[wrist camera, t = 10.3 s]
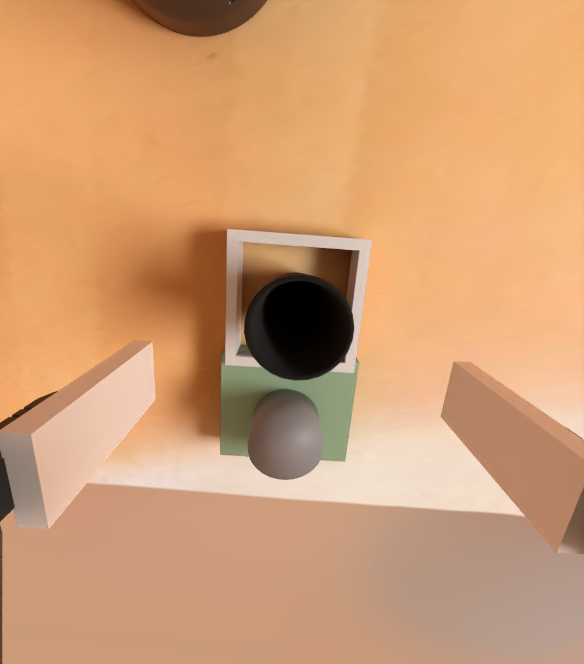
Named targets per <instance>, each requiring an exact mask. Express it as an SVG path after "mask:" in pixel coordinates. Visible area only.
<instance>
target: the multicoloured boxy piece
mask: <svg viewBox="0 0 584 664" xmlns="http://www.w3.org/2000/svg"><path fill="white" fill-rule="evenodd" d="M243 242H252V243H266V244H279V245H292V246H306V247H319V248H332V249H346V250H352V255H351V264H350V272H349V280H348V288H347V297H346V300H347V302H348V303H349V306H350V308H351V311H352V313H353V319H354V335H353V341H352V343H351V346H350V348H349V351H348V353H347V354H346V356H345V357H344V358H343V360H342V361H341V363H339V364H338V365H337V366H336V367H335V368H334V369H333V370H331V371H330V372H328V373H326V374H324V375H322V376H320V377H317V378H313V379H310V380H298V381H294V380H289V379H283V378H280V377H278V376H276V375H273V374H271V373H270V372H268V371H267V370H265V369H264V368H263V367H261V366H260V365H259V363H258V362H257V361H256V360H255V359H254V358H253V356H252V354H251V352H250V350H249V348H248V346H247V345H241V311H242V275H243ZM371 245H372V240H367V239H354V238H340V237H327V236H314V235H301V234H288V233H274V232H261V231H248V230H235V229H227V271H226V342H225V348H224V350H223V352H222V353H221V430H220V455H234V456H249V457H250V460H251V461H252V463H253V465H254V466H255V467H256V468H257V469H258V470H259V471H260V472H262V473H263V474H265V475H267V476H269V477H272V478H276V479H282V480H289V479H295V478H299V477H302V476H304V475H306V474H308V473H309V472H311V471H312V470H313V469H314V468H315V467H316V466H317V464H318V463H319V461H320V460H326V461H345V458H346V451H347V444H348V437H349V430H350V423H351V416H352V408H353V401H354V394H355V387H356V380H357V373H358V366H359V362H358V360H357V358H356V354H357V347H358V339H359V332H360V325H361V318H362V310H363V303H364V296H365V288H366V281H367V274H368V267H369V259H370V252H371Z"/></svg>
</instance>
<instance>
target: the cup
mask: <svg viewBox="0 0 584 664" xmlns="http://www.w3.org/2000/svg"><path fill="white" fill-rule="evenodd" d="M244 334H245V339H246V343H247V346H248V348H249V350H250V352H251V354H252V356H253V358H254V359H255V360H256V361H257V362H258V363H259V365H260V366H261V367H263V368H264V369H265V370H267V371H268V372H270V373H271V374H273V375H276V376H278V377H280V378H283V379H289V380H294V381H298V380H310V379H313V378H317V377H320V376H322V375H324V374H326V373H328V372H330V371H331V370H333V369H334V368H335V367H336V366H337V365H338V364H339V363H341V361H342V360H343V358H344V357H345V356H346V354H347V353H348V351H349V348H350V346H351V343H352V341H353V335H354V319H353V313H352V311H351V308H350V306H349V303H348V302H347V300H346V299H345V297H344V296H343V295H342V293H341V292H340V291H339V290H338V289H337V288H335V287H334V286H333V285H332V284H331V283H329V282H327V281H325V280H322V279H320V278H318V277H314V276H310V275H306V274H301V273H290V274H287V275H284V276H282V277H280V278H278V279H276V280H275V281H273V282H271V283H269V284H268V285H266V286H265V287H264V288H263V289H262V290H261V291H260V292H259V293H258V294H257V295H256V296H255V297H254V299H253V300H252V302H251V304H250V305H249V307H248V310H247V314H246V317H245V325H244Z"/></svg>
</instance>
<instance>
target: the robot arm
mask: <svg viewBox="0 0 584 664" xmlns="http://www.w3.org/2000/svg"><path fill="white" fill-rule="evenodd" d="M133 1H134V2H135V3H136V4H137V6H138V7H139V8H141V9H142V10H143V11H144V12H145V13H146V14H147V15H148V16H150V17H151V18H152V19H154V20H155V21H157V22H158V23H160V24H161V25H163V26H165V27H167V28H169V29H171V30H174V31H177V32H180V33H183V34H187V35H193V36H211V35H217V34H222V33H225V32H228V31H230V30H233V29H235V28H237V27H239V26H240V25H242V24H243V23H245V22H246V21H248V20H249V19H250V18H251V17H253V16H254V15H255V14H256V13H257V12H258V11H259V10H260V9H261V7H262V6H263V5H264V4H265V2H266V1H267V0H133ZM155 400H156V398H155V381H154V363H153V345H152V342H146V341H133V342H132V343H130V344H128V345H127V346H125V347H124V348H122V349H121V350H119V351H118V352H116V353H115V354H113V355H112V356H110V357H109V358H107V359H106V360H104V361H103V362H101V363H100V364H98V365H97V366H95V367H94V368H92V369H91V370H89V371H88V372H86V373H85V374H83V375H82V376H80V377H79V378H77V379H76V380H74V381H73V382H71V383H70V384H68V385H67V386H65V387H64V388H62V389H61V390H59V391H56V392H53V393H51V394H48V395H46V396H43V397H41V398H38V399H36V400H35V401H33V402H32V403H30V404H29V405H27V406H26V407H24V409H21V410H19V411H18V412H16V413H15V414H13V415H12V417H8V418H7V419H5V420H4V421H2V422H1V423H0V521H1V520H2V519H3V518H4V517H5V516H6V515H7V514H8V513H10V512H11V510H13V509H14V514H15V518H16V522H17V527H18V528H36V529H49V528H50V527H51V526H52V524H53V523H54V522H55V521H56V520H57V519H58V517H59V516H60V515H61V514H62V513H63V511H64V510H65V509H66V508H67V506H68V505H69V504H70V503H71V502H72V500H73V499H74V498H75V497H76V496H77V494H78V493H79V492H80V491H81V489H82V488H83V487H84V486H85V485H86V483H87V482H88V481H89V480H90V479H91V477H92V476H93V475H94V474H95V472H96V471H97V470H98V469H99V468H100V466H101V465H102V464H103V463H104V462H105V460H106V459H107V458H108V457H109V455H110V454H111V453H112V452H113V451H114V449H115V448H116V447H117V446H118V445H119V443H120V442H121V441H122V440H123V438H124V437H125V436H126V435H127V434H128V432H129V431H130V430H131V429H132V428H133V426H134V425H135V424H136V423H137V422H138V420H139V419H140V418H141V417H142V415H143V414H144V413H145V412H146V411H147V409H148V408H149V407H150V406H151V405H152V403H153V402H154V401H155ZM441 417H442V419H443V420H444V421H445V422H446V423H447V424H448V426H449V427H450V428H451V429H452V430H453V432H454V433H455V434H456V435H457V436H458V437H459V439H460V440H461V441H462V442H463V443H464V444H465V446H466V447H467V448H468V449H469V450H470V452H471V453H472V454H473V455H474V456H475V457H476V459H477V460H478V461H479V462H480V463H481V464H482V466H483V467H484V468H485V469H486V470H487V472H488V473H489V474H490V475H491V476H492V477H493V479H494V480H495V481H496V482H497V483H498V484H499V486H500V487H501V488H502V489H503V490H504V492H505V493H506V494H507V495H508V496H509V497H510V499H511V500H512V501H513V502H514V503H515V504H516V506H517V507H518V508H519V509H520V510H521V512H522V513H523V514H524V515H525V516H526V517H527V519H528V520H529V521H530V522H531V523H532V524H533V526H534V527H535V528H536V529H537V530H538V532H539V533H540V534H541V535H542V536H543V537H544V538H545V540H546V541H547V542H548V543H549V544H550V546H551V547H552V548H553V549H554V550H555V552H556V553H571V554H584V440H583V439H582V438H581V437H579V436H578V435H577V434H575V433H574V432H572V431H571V430H569V429H568V428H566V427H564V426H563V425H561V424H560V423H558V422H557V421H555V420H554V419H552V418H551V417H549V416H548V415H547V414H545V413H544V412H542V411H541V410H539V409H538V408H536V407H535V406H533V405H532V404H530V403H529V402H528V401H526V400H525V399H523V398H522V397H520V396H519V395H517V394H516V393H514V392H513V391H512V390H510V389H509V388H507V387H506V386H504V385H503V384H501V383H500V382H498V381H497V380H495V379H494V378H493V377H491V376H490V375H488V374H487V373H485V372H484V371H482V370H481V369H479V368H478V367H477V366H475V365H474V364H472V363H471V362H455V361H454V362H453V366H452V370H451V375H450V379H449V383H448V388H447V392H446V396H445V400H444V405H443V409H442V413H441ZM0 664H2V530H1V526H0Z"/></svg>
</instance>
